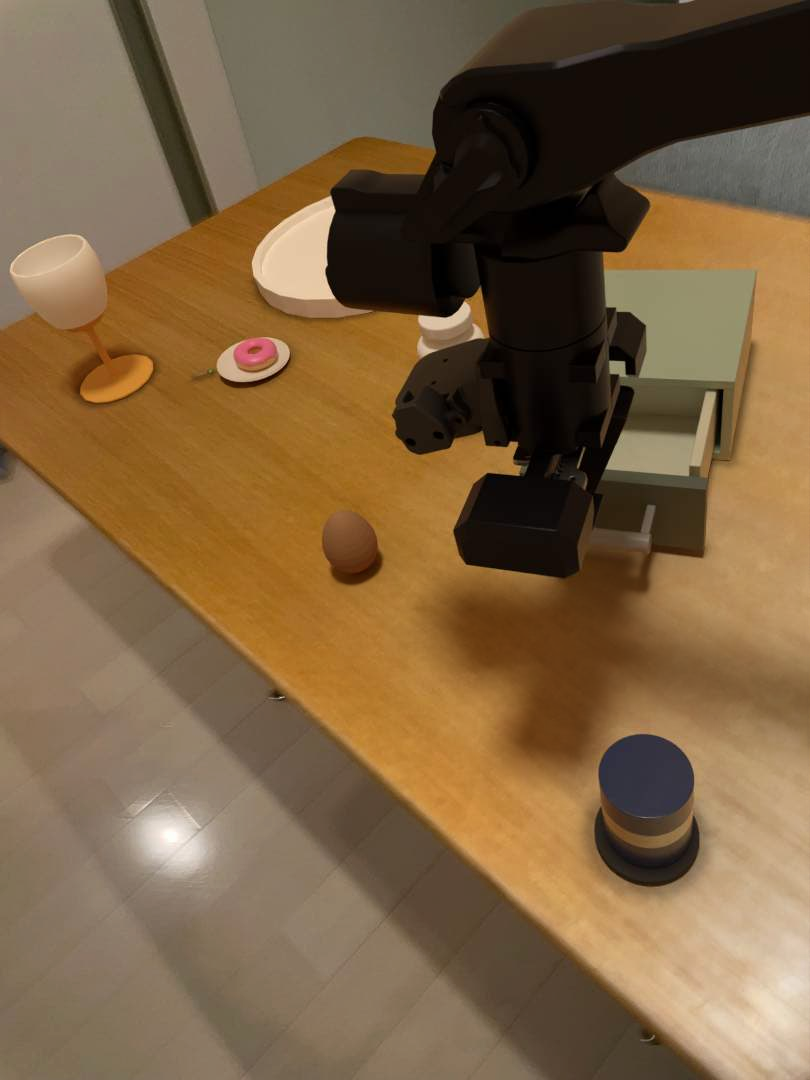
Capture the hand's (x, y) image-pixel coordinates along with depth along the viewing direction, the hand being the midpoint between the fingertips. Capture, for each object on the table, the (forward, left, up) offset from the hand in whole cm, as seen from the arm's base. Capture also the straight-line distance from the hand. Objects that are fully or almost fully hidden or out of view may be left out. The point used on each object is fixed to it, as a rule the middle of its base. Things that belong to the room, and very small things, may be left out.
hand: (571, 534), depth 53 cm
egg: (+20, -5, -12) cm, 24 cm away
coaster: (-7, +12, -12) cm, 19 cm away
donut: (+45, -30, -12) cm, 55 cm away
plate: (+40, -54, -12) cm, 68 cm away
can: (-7, +12, -11) cm, 18 cm away
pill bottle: (+17, -25, -12) cm, 32 cm away
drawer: (0, -15, -11) cm, 19 cm away
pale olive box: (0, -29, -12) cm, 31 cm away
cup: (+61, -27, -12) cm, 68 cm away
